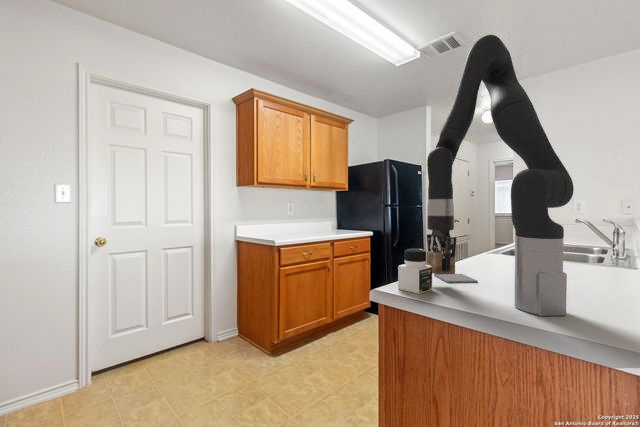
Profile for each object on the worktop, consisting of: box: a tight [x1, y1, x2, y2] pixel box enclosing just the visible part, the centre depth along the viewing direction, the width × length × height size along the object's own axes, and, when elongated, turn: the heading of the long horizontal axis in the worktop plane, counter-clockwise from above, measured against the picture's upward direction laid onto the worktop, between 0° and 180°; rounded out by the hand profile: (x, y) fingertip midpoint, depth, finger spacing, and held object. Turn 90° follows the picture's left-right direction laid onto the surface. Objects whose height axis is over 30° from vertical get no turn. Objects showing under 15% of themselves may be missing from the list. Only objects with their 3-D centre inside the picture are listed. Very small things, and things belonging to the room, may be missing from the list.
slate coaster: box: [433, 273, 479, 284], centre depth 101 cm, size 10×10×1 cm
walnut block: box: [426, 251, 456, 275], centre depth 91 cm, size 6×6×6 cm
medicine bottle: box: [397, 248, 433, 295], centre depth 88 cm, size 7×7×12 cm
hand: (440, 269), depth 91 cm, fingers closed on walnut block, 6 cm apart
